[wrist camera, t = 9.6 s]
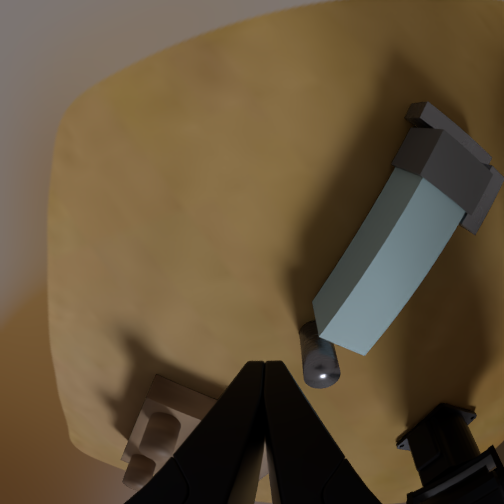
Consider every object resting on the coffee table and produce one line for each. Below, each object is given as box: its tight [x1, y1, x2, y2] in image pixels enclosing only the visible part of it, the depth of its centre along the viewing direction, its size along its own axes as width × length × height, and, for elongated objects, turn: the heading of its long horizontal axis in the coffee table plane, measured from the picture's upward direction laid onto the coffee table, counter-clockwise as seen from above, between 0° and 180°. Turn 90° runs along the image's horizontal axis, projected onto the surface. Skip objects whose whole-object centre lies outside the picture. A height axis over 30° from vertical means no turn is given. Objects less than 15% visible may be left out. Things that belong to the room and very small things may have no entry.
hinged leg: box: [312, 128, 493, 356], centre depth 15 cm, size 12×4×4 cm, turn 153°
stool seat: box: [121, 374, 269, 491], centre depth 22 cm, size 12×12×6 cm
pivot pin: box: [299, 321, 340, 388], centre depth 18 cm, size 2×2×4 cm
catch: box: [405, 102, 504, 235], centre depth 14 cm, size 6×4×3 cm
